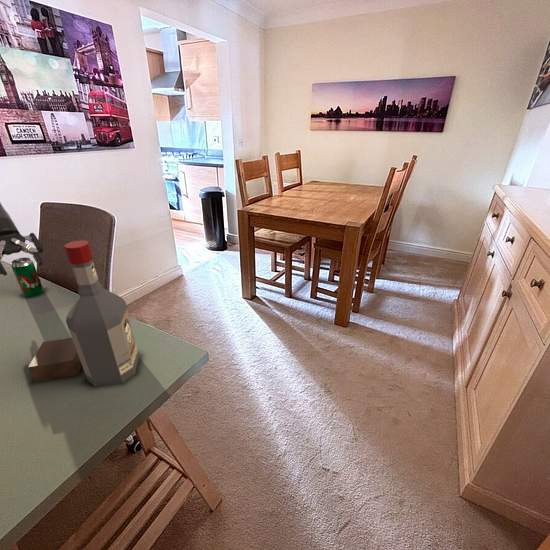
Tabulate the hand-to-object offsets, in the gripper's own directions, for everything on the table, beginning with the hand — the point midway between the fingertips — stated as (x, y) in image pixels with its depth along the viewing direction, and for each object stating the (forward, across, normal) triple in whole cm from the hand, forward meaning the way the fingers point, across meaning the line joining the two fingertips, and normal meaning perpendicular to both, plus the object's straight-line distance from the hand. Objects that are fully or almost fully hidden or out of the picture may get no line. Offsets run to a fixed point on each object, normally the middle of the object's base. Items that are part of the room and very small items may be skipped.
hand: (23, 269), depth 89 cm
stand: (+35, -6, -23) cm, 43 cm away
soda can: (+7, 0, +5) cm, 9 cm away
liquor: (+42, +1, -30) cm, 52 cm away
